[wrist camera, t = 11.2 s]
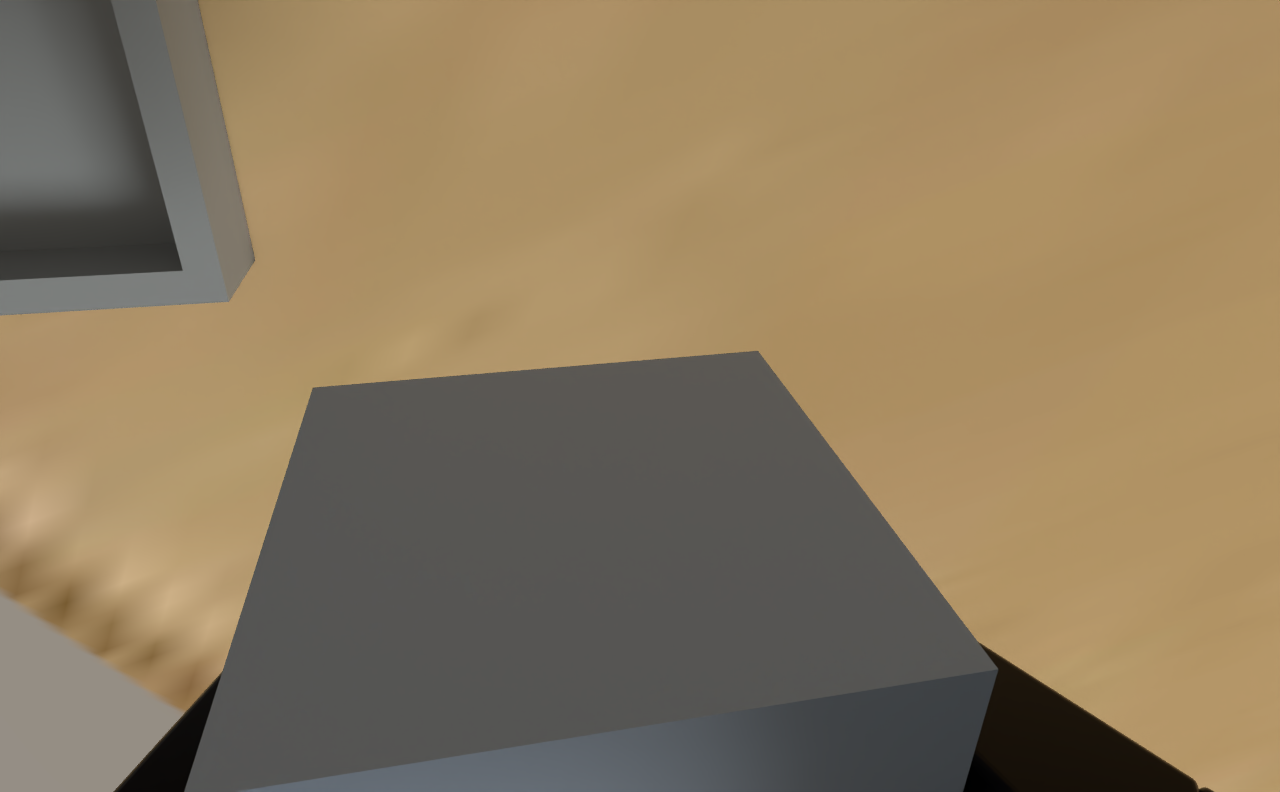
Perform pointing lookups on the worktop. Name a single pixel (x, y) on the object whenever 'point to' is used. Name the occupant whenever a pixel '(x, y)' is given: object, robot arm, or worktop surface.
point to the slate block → (586, 599)
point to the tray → (114, 160)
